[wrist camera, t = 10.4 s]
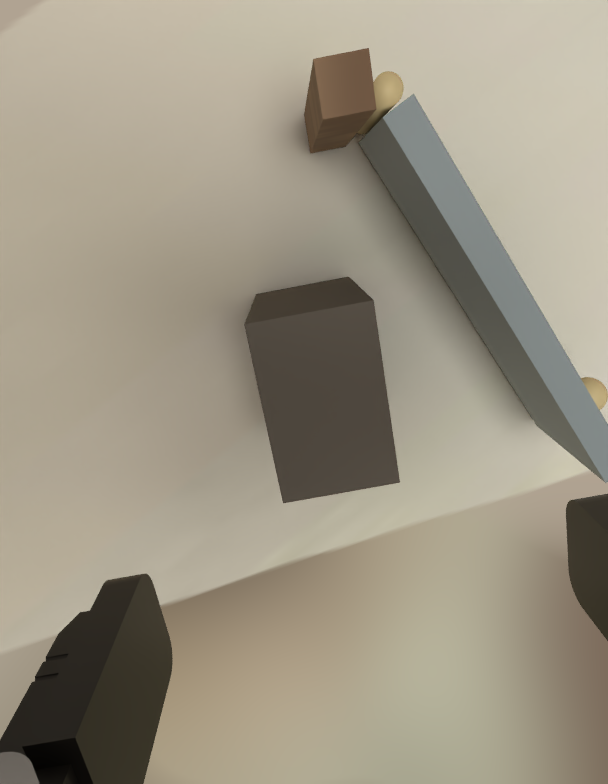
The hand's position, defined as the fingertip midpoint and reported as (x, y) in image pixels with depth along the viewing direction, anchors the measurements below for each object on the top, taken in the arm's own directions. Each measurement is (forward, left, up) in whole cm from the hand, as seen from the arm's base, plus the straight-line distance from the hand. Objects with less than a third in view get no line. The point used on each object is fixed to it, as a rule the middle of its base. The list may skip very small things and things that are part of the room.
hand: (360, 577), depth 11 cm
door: (+8, +3, -17) cm, 19 cm away
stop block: (0, 0, -18) cm, 18 cm away
